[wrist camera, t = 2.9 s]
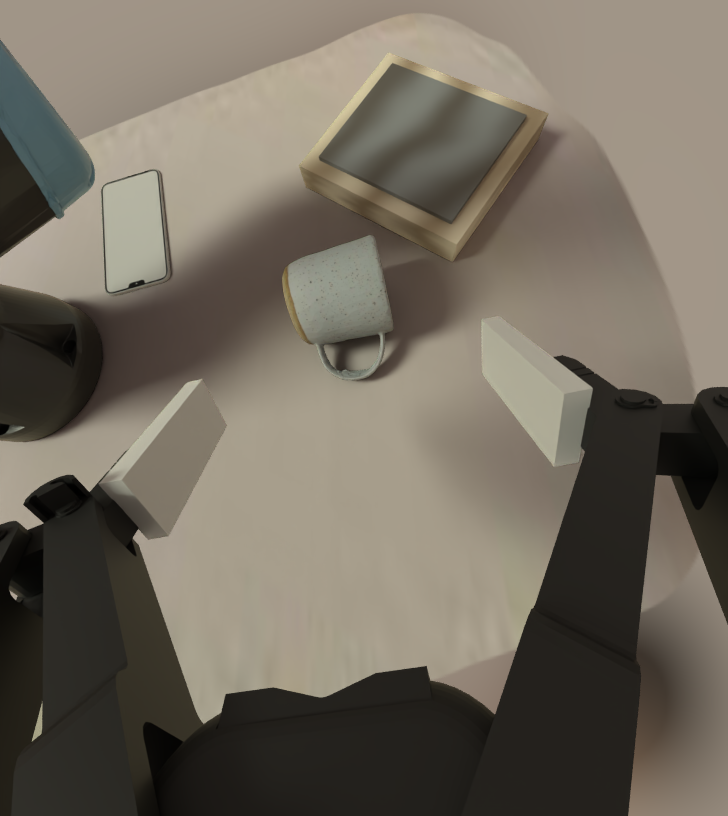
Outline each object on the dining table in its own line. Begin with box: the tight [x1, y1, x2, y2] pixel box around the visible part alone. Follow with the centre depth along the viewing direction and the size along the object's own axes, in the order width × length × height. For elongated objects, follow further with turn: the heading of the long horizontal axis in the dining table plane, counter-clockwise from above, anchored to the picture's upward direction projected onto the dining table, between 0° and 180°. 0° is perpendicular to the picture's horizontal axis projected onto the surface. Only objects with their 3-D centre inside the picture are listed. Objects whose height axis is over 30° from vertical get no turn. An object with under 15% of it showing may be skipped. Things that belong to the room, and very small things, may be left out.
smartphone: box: [101, 169, 171, 296], centre depth 37 cm, size 7×1×15 cm
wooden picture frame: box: [299, 53, 548, 262], centre depth 33 cm, size 18×16×3 cm
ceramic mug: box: [282, 235, 393, 380], centre depth 28 cm, size 11×8×8 cm
